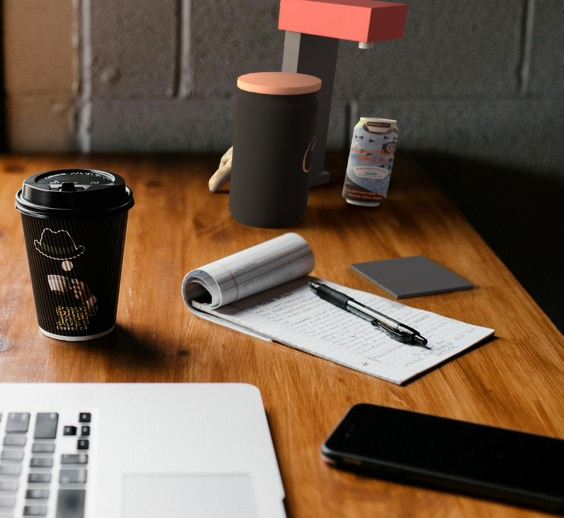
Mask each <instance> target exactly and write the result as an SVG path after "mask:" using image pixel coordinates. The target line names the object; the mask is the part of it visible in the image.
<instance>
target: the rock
mask: <svg viewBox="0 0 564 518" xmlns="http://www.w3.org/2000/svg"><path fill="white" fill-rule="evenodd" d="M232 150H233V145H232V146H231V147H230V148H229V149H228V150H227V151H226V153H224V154H223V156H222V157H221V159H220V163H219V166H218V169H217V170H216V171H215V173H214V174H213V175H212V176H211V177H210V179H209V181H208V189H209V191H210V192H212V193H216V192H218V191H219V190H220V189H221V188H222V187H223V186H225V185H226V183H228V182H229V181H230V179H231V165H232Z"/></svg>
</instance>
